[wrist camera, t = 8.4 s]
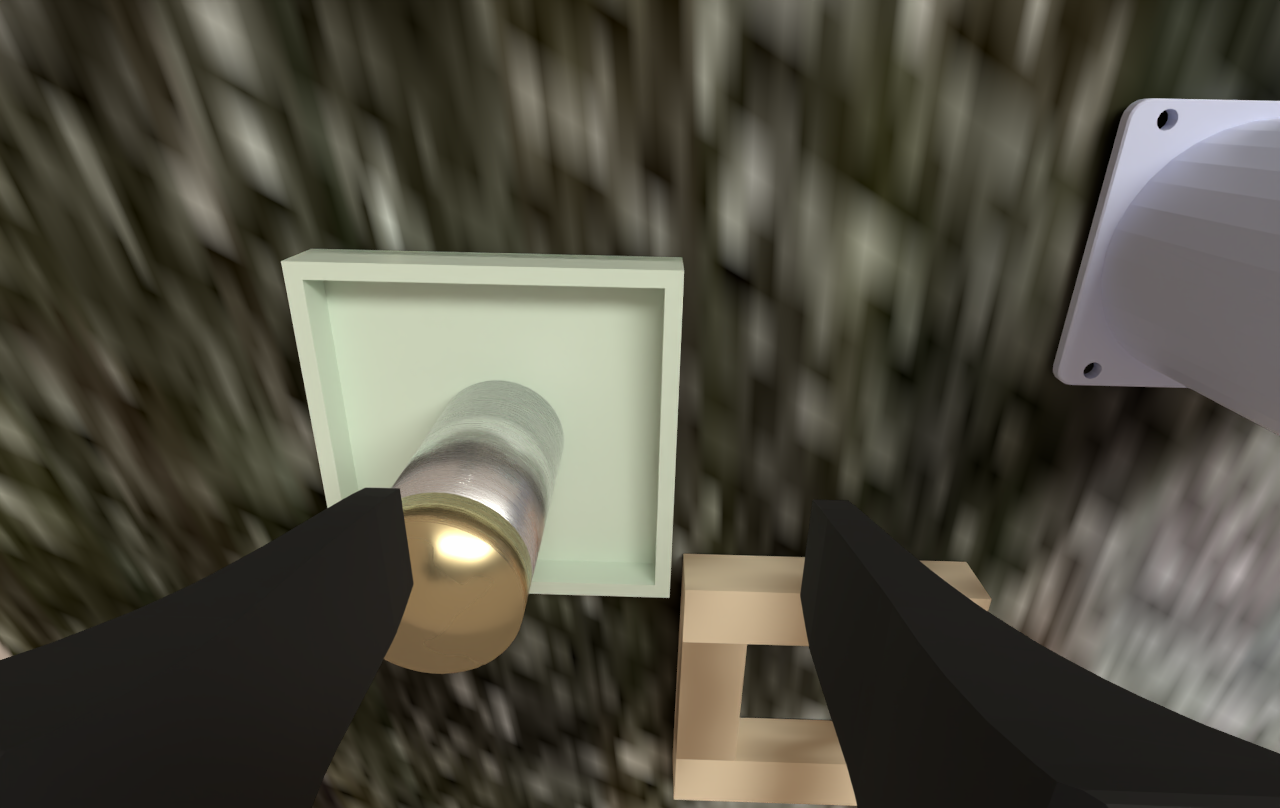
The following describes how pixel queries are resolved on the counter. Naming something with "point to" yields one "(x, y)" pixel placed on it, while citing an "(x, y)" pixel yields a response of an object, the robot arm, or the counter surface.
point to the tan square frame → (713, 680)
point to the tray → (516, 352)
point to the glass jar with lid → (475, 525)
